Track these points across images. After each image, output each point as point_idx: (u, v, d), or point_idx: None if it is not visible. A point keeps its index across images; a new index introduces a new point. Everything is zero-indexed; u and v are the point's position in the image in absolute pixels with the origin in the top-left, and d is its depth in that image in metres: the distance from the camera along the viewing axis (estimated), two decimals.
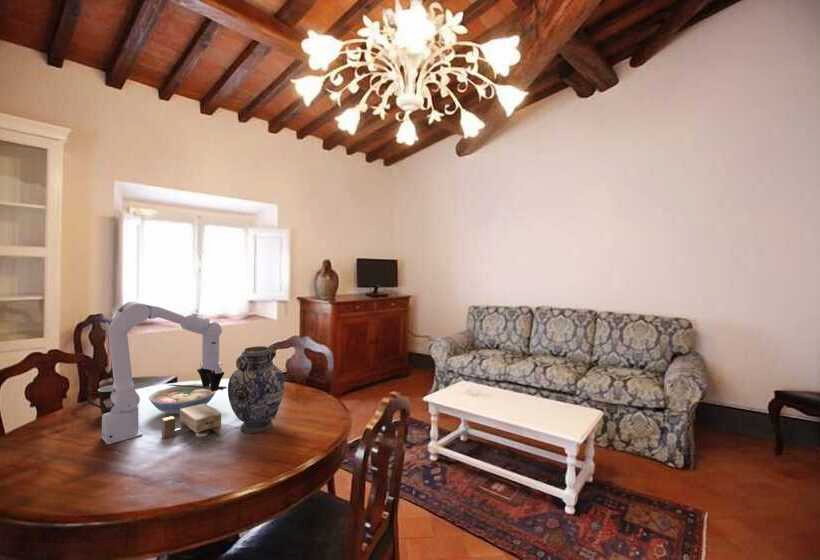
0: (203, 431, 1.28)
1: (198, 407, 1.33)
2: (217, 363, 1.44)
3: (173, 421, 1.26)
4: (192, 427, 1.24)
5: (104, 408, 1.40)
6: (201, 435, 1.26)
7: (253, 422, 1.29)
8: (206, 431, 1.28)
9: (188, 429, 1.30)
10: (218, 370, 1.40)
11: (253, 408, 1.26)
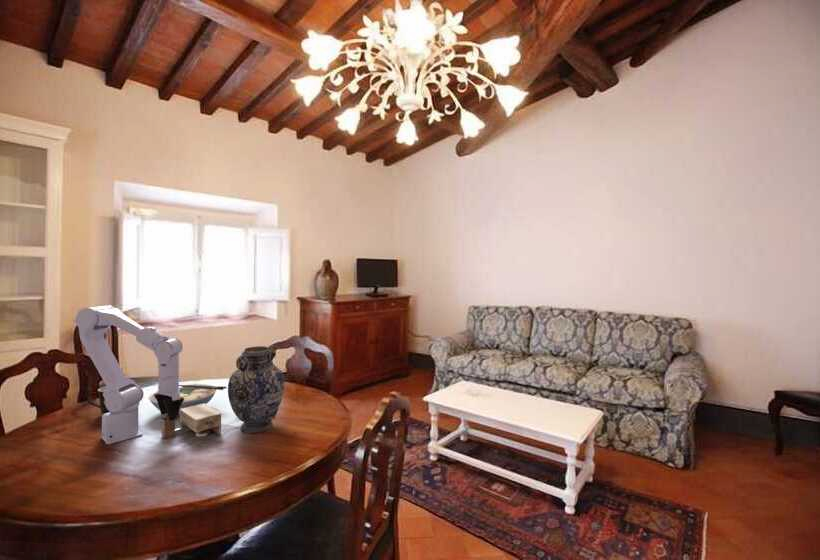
0: (203, 431, 1.28)
1: (198, 407, 1.33)
2: (176, 387, 1.25)
3: (173, 421, 1.26)
4: (192, 427, 1.24)
5: (104, 408, 1.40)
6: (201, 435, 1.26)
7: (253, 422, 1.29)
8: (206, 431, 1.28)
9: (188, 429, 1.30)
10: (176, 396, 1.21)
11: (253, 408, 1.26)
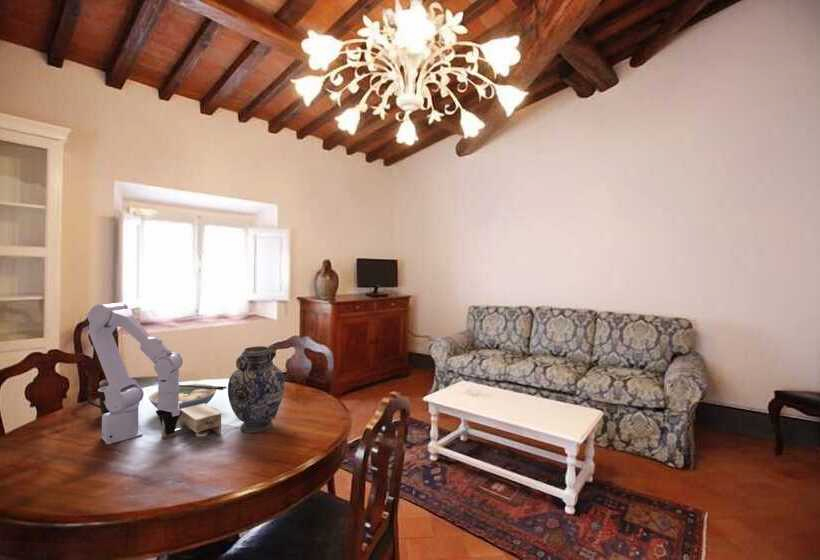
0: (203, 431, 1.28)
1: (198, 407, 1.33)
2: (176, 403, 1.25)
3: None
4: (192, 427, 1.24)
5: (104, 408, 1.40)
6: (201, 435, 1.26)
7: (253, 422, 1.29)
8: (206, 431, 1.28)
9: (188, 429, 1.30)
10: (175, 412, 1.21)
11: (253, 408, 1.26)
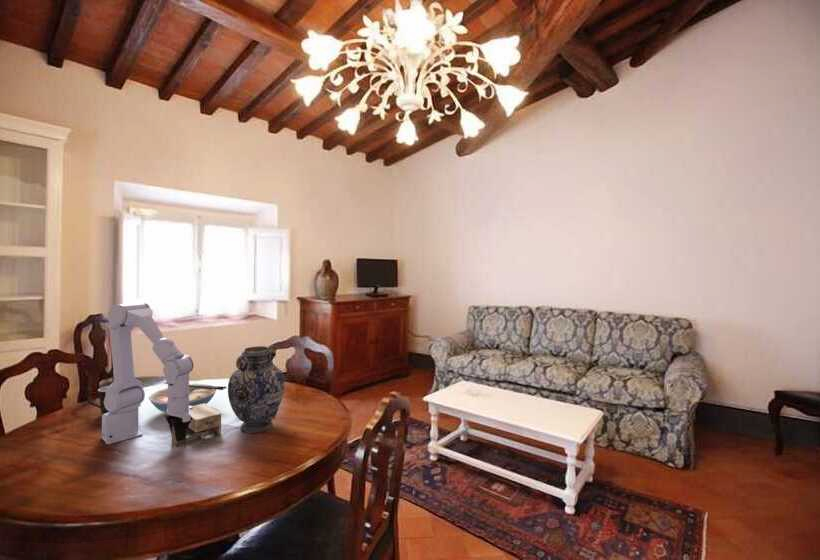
0: (208, 433, 1.26)
1: (198, 407, 1.33)
2: (186, 408, 1.19)
3: None
4: (192, 427, 1.24)
5: (104, 408, 1.40)
6: (207, 437, 1.24)
7: (253, 422, 1.29)
8: (212, 433, 1.26)
9: (198, 435, 1.25)
10: (186, 418, 1.15)
11: (253, 408, 1.26)
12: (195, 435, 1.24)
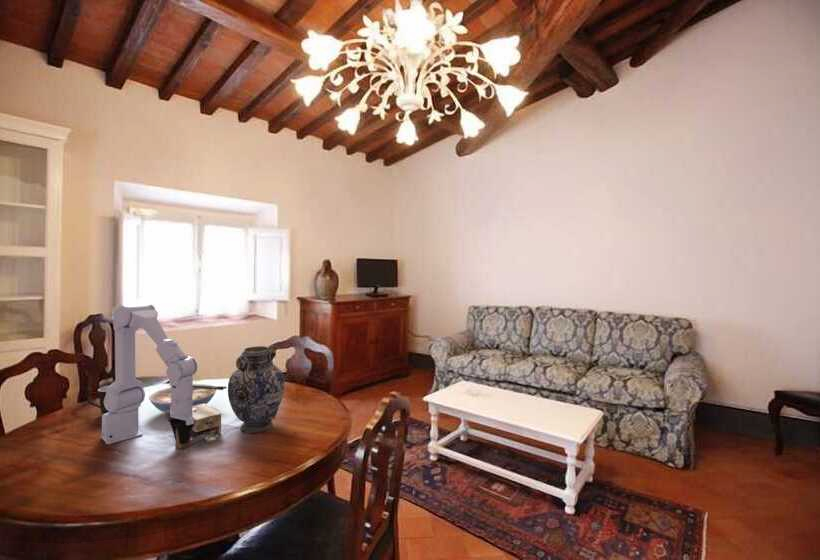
0: (212, 435, 1.25)
1: (198, 407, 1.33)
2: (190, 410, 1.17)
3: None
4: None
5: (104, 408, 1.40)
6: (211, 439, 1.23)
7: (253, 422, 1.29)
8: (216, 435, 1.25)
9: (201, 438, 1.23)
10: (190, 421, 1.13)
11: (253, 408, 1.26)
12: (199, 437, 1.23)
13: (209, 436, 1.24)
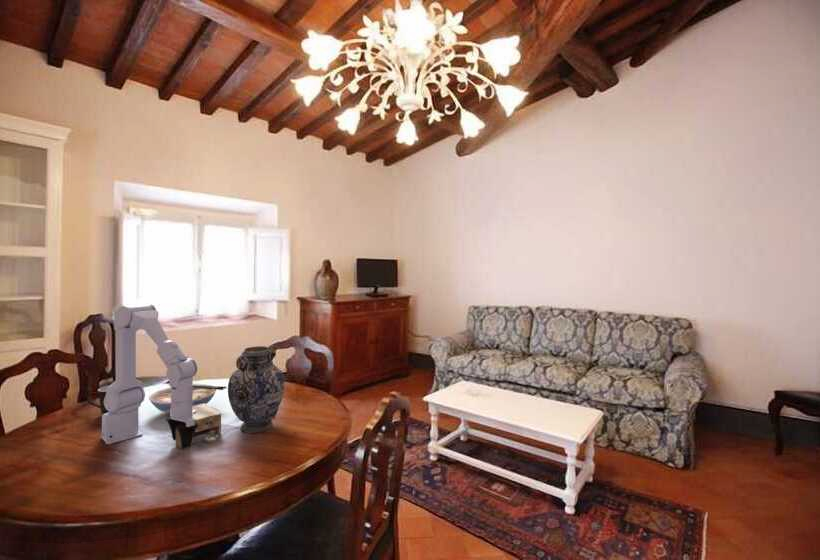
0: (213, 435, 1.25)
1: (198, 407, 1.33)
2: (190, 412, 1.17)
3: None
4: None
5: (104, 408, 1.40)
6: (211, 439, 1.23)
7: (253, 422, 1.29)
8: (216, 435, 1.25)
9: (201, 438, 1.23)
10: (190, 422, 1.13)
11: (253, 408, 1.26)
12: (199, 437, 1.23)
13: (209, 436, 1.24)
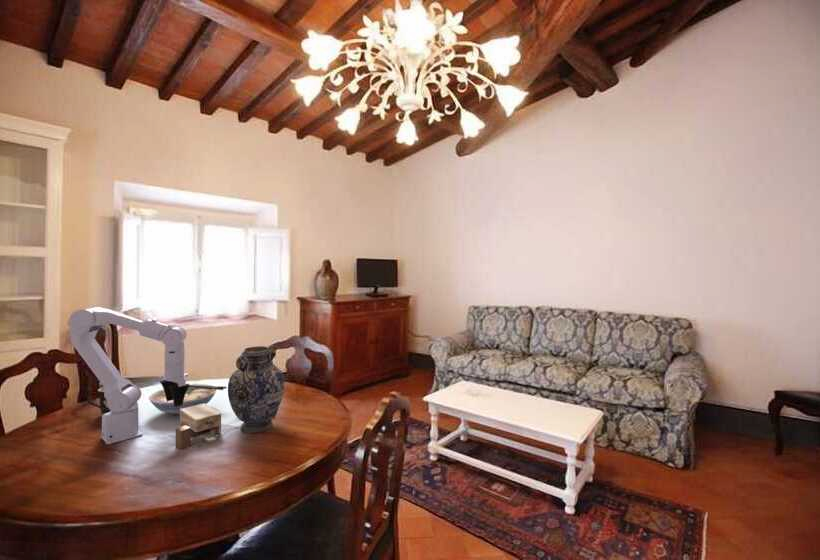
0: (212, 435, 1.25)
1: (198, 407, 1.33)
2: (182, 374, 1.29)
3: (189, 430, 1.19)
4: (192, 427, 1.24)
5: (104, 408, 1.40)
6: (211, 439, 1.23)
7: (253, 422, 1.29)
8: (216, 435, 1.25)
9: (201, 438, 1.23)
10: (181, 382, 1.24)
11: (253, 408, 1.26)
12: (199, 437, 1.23)
13: (209, 436, 1.24)
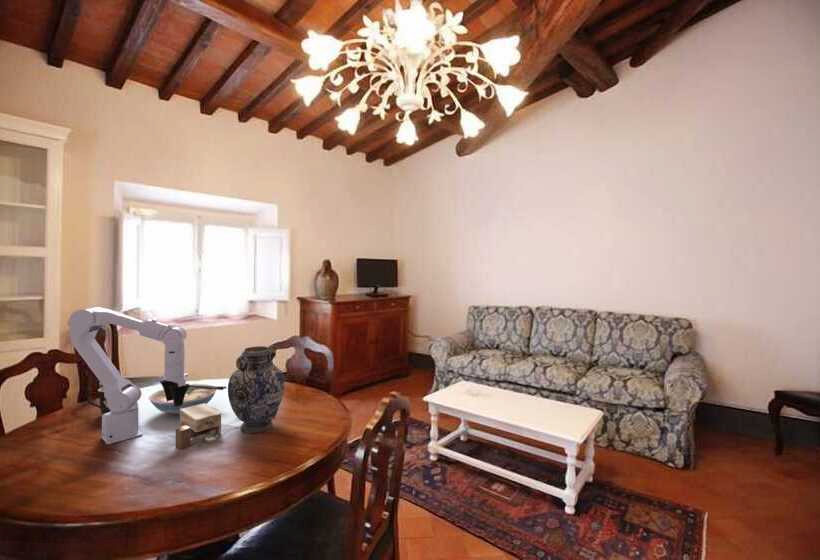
0: (213, 435, 1.25)
1: (198, 407, 1.33)
2: (182, 374, 1.29)
3: (189, 430, 1.19)
4: (192, 427, 1.24)
5: (104, 408, 1.40)
6: (211, 439, 1.23)
7: (253, 422, 1.29)
8: (216, 435, 1.25)
9: (201, 438, 1.23)
10: (181, 382, 1.24)
11: (253, 408, 1.26)
12: (199, 437, 1.23)
13: (209, 436, 1.24)
